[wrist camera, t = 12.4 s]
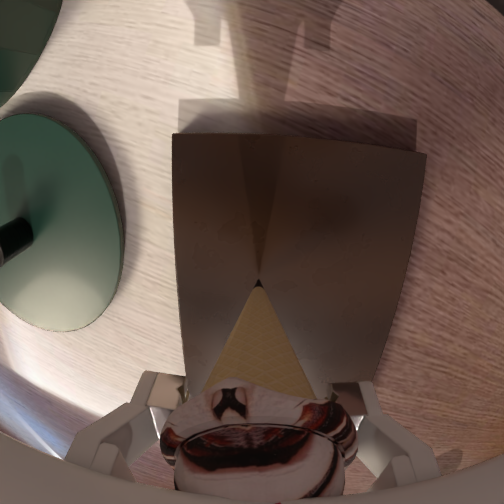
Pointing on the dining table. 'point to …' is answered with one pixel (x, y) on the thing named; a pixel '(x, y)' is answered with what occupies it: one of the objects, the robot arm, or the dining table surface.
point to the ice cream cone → (259, 422)
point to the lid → (55, 226)
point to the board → (292, 245)
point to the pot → (23, 39)
